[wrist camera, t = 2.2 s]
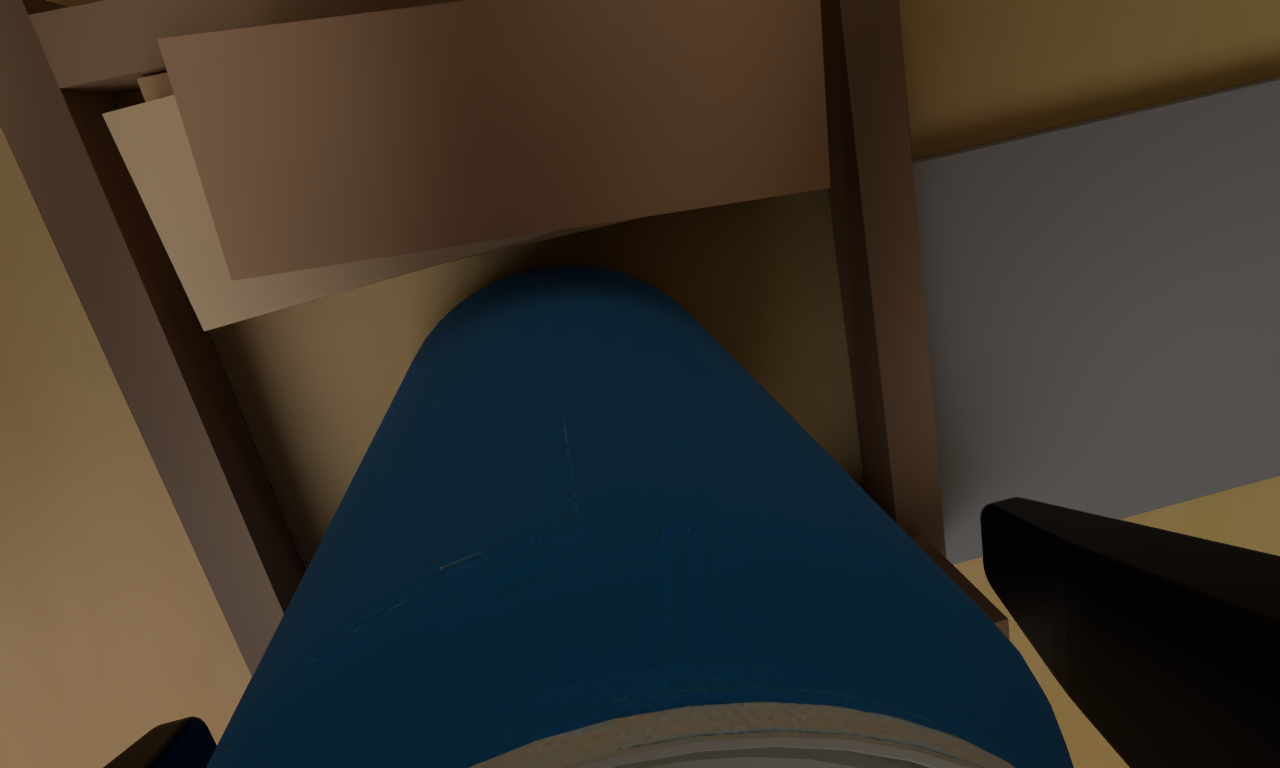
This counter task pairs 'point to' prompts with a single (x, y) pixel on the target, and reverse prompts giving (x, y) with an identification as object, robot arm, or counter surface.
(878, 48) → the rack
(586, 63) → the offcut stack
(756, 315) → the counter surface
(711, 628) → the beverage can
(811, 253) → the counter surface
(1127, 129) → the rubber mat
